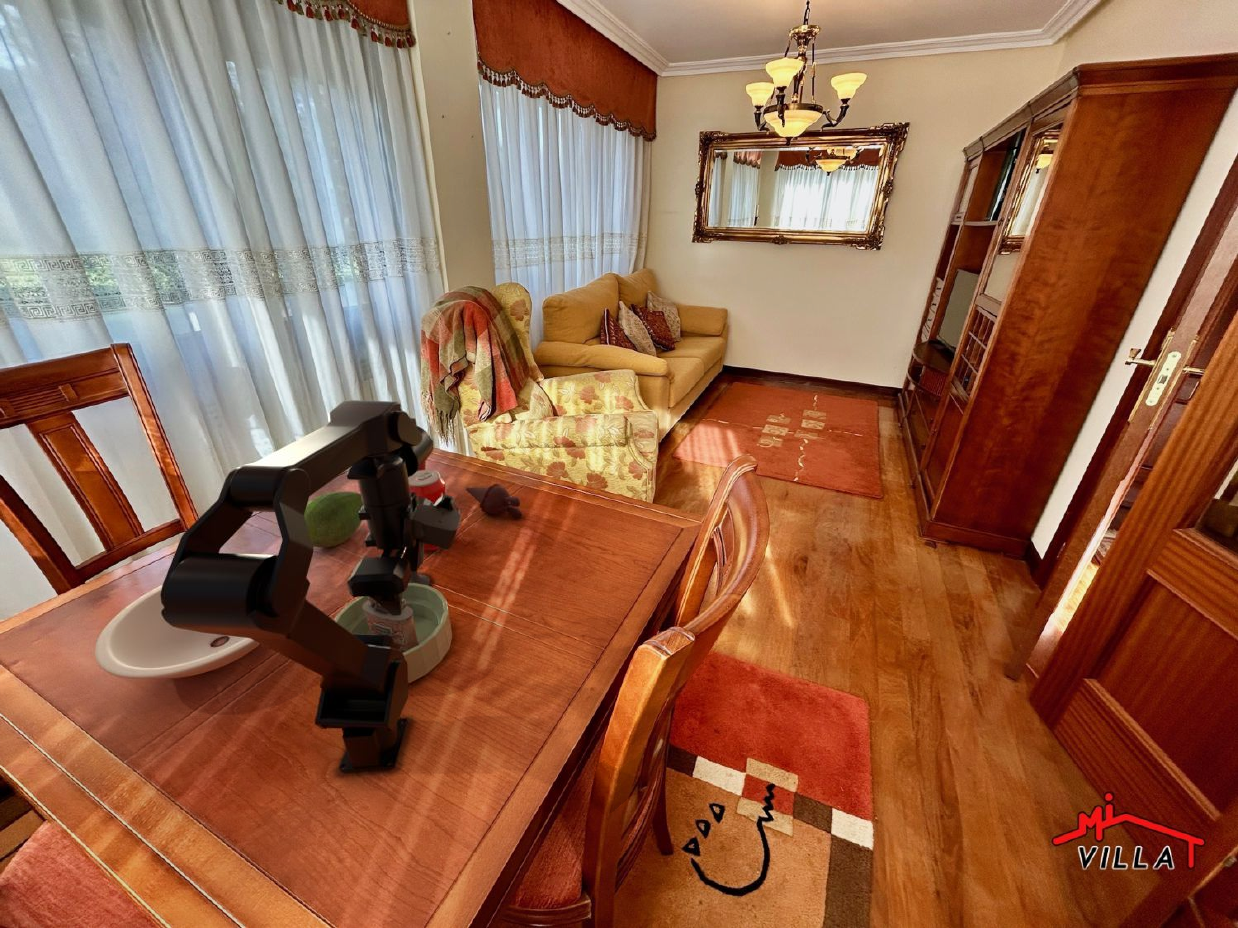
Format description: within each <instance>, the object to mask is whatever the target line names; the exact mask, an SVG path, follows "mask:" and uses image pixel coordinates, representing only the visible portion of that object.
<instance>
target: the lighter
mask: <svg viewBox="0 0 1238 928" xmlns="http://www.w3.org/2000/svg"><path fill="white" fill-rule="evenodd" d="M368 599H369V600H367V601H366V602H365V603H364V604H363V606H362V608H363V612H364V613H365V614H366V618H367V622H368V625H369V629H370V633H371V634H379V635H388V636H390V637H392V639H393V640H394V642H395V643H396V644H401V647H400V649H399V650H401V652H402V653H404V652H406V651H408V650H410V649H412V648H414V647H416V646H418V645H419V642H418V641H417V637H416V632H415V627H414V622H413V610H412V609H411V608H410V607H408V606H407V605H406V601H405V600H404V599H402V613H401V615H396V616H393V615H392V614H390V613H389V612H388V611H387V610H385V609H384V608H383V607H382V606H381V605H379V604H378V603H377V602H376V601H374V600H373V599H372V598H370V597H369V596H368Z"/></svg>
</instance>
